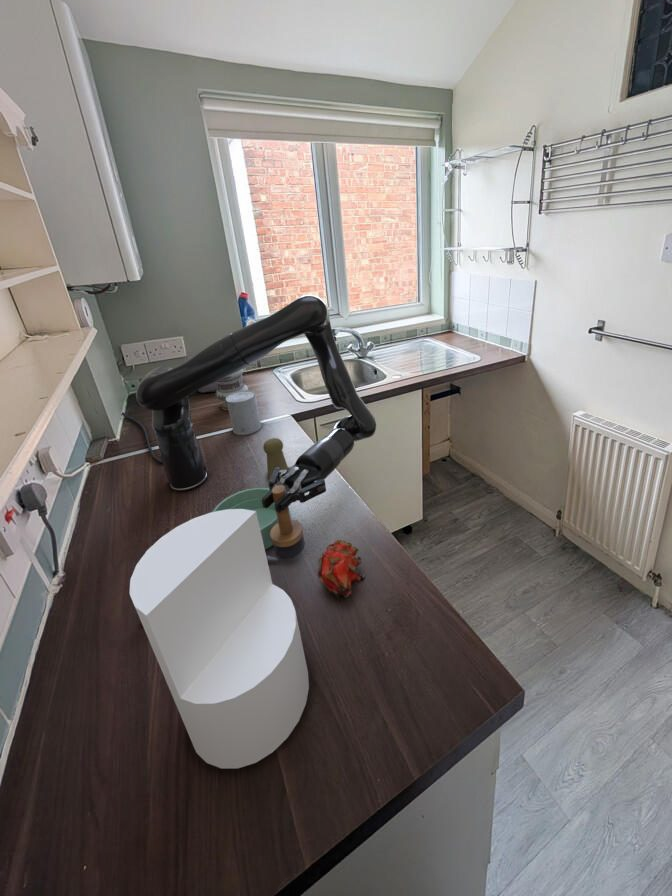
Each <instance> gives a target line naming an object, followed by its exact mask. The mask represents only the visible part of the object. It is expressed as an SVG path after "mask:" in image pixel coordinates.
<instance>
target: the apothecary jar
mask: <svg viewBox="0 0 672 896" xmlns="http://www.w3.org/2000/svg"><path fill="white" fill-rule="evenodd" d="M244 369H245V368H244ZM244 369H242V370H240V371H238V372H236V373H233V374H231V375H229V376H227V377H225V378H223V379H221V380H218V381H216V383H217V388H218V389H217V391H216V392H215V397H216V399H217V400H218V401H221V402H223V403H222V405H221V410H224V411H229V410H228V406H227V402H226V397H227V396H228V395H230V394H232V393H235V392H238V391H249V387H248V386H247V385H246V384H245V383H244V381H243V380H242V379H243V374H244V372H245V370H244Z"/></svg>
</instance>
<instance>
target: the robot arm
mask: <svg viewBox="0 0 672 896" xmlns="http://www.w3.org/2000/svg"><path fill="white" fill-rule="evenodd" d="M330 319H331V318H330V311H329V309H328V307H327V305H326V303H325V301H324V300H322V299H321V298H320V297H319V296H316V295H312V294H307V295H306V294H305V295H302V296H299V297H298V298H296V299H295V300H293V301H292V302H291V303H288V304H287V305H285V306H284V307H282V308H281V309H279V310H277V311H276V312H274V313H273V314H271V315H269V316H267V317H265V318H263V319H260V320H258V321H255V322H253V323H251V324H247V325H246V326H244V327H242V328H240V329H237V330H235V331H233V332H230V333H229V334H227V335H225V336H223V337H221V338H219V339H217V340H215V341H213V342H212V343H210V344H209V345H208V346H206V347H205V348H203V349H202V350H200V351H199V352H198V353H196V354H195V355H194V356H192V357H191V358H190V359H188V360H187V361H185V362H183V363H182V364H180V365H178V366H176V367H173V368H172V367H169V366H158V367H155V368H153V369H151V370H150V371H148V373H147V374H146V375H145V376H144V377H143V378H142V379H141V380H140V381H139V383H138V385H137V388H136V391H135V396H136V401H137V402H138V404H139V405H140V407H143V408H144V409H146V410H149V411H152V416H151V428H152V431H153V434H154V438H155V440H156V444H157V446H158V450H159V452H160V454H159V455H160V458H158V457H157V456H156V455H155V453H154V451H153V449H152V446H151V443H150V439H149V434H148V431H147V429H146V427H145V426H144V425H143V423H141V421H139V420H137V419H136V418H134V417H131V416H130V415H128V414H126V413H124V412H123V411H121V412H122V414H121V416H124V417H125V418H127V419H129V420H130V421H133V422H135V423H136V424H137V425H138V426H140V427H141V429H142V431H143V434H144V438H145V443H146V445H147V449H148V451H149V453H150V456H151V457H152V459H154V460H155V461H156V462H158V463H159V464H162V466H163V469H164V472H165V475H166V479H167V481H168V484H169V485H170V488H171V490H173V491H175V492H186V491H190V490H193V489H195V488H198V487H199V486H201V485H203V483H204V482H206V481H207V479H208V474H207V472H208V470H207V467H206V466H205V465H204V460H203V456H202V453H201V449H200V445H199V442H198V439H197V435H196V431H195V428H194V424H193V420H192V415H191V414H192V410H191V404H190V399H189V396H190V395H193V394H194V393H195V392H198V390H199V389H200V388H202V387H205V386H207V385H209V384H212V383H214V382H216V381H218V380H221V379H223V378H225V377H227V376H229V375H231V374H233V373H236V372H238V371H240V370H242V369H246V368H248V367H250V366H252V365H253V364H255V363H257V362H259V361H260V360H262V359H263V358H265V357H267V355H268V354H270V353H271V352H272V351H274V350H275V349H276V348H277V347H279V346H280V345H282V344H284V343H285V342H287V341H289V340H292V339H294V338H297V337H299V336H302V335H304V336H305V338H306V340H307V341H308V342H309V345H310V346H311V348H312V350H313V353H314V356H315V358H316V360H317V364H318V368H319V370H320V374H321V378H322V381H323V384H324V387H325V388H326V391H327V394H328V396H329V399H330V401H331V403H332V405H333V407H334V408H335V409H337V410H346V411H347V412H348V413H349V414H350V415H346V416H344V417H341V418H340V419H339V420H337V422H336V423H335V424H334V425H333V427H332V428H331V431H330V432H328V433H327V434H326V435H325V436H323V437H322V438H321V439H320V440H317V442H315V443H314V444H313V445H311V446H310V447H308V449H306V451H304V452H303V453H302V454H300V456H298V457H297V459H296V461H295V463H294V465H292V466H289V467H288V469H287V470H280V468H279V467H276V468H275V469H274V471H273V473H272V475H271V477H270V480H269V479H268V482H267V485H268V488H269V489H270V491H269V492H268V493H267V494H266V495H264V496H263V498H262V505H263V507H264V508H268V507H269V506H270V505H271V504H272V503H274V499H273V494H272V489H273V488H274V487H275V486H278V485H282V486H284V487H285V490H286V493H285V494H284V495H283V496H282V497H281V498H280V499H279V500H278V501H277V502H276V503H275V510H276V512H279V513H280V512H281V511H283V510H285V509H286V508H287V507H288V506H289V507H290V505H291V504H292V503H296V502H297V501H298V502H299V503H300V504H304V503H306V502H307V501H310V500H312V499H314V498H316V497H318V496H320V495H322V494H324V493H325V492H327V485H326V479H327V478H328V477H329V476H330V474H332V473H333V472H334V471H335V469H337V468H338V466H339V465H340V464H341V463H342V461H343V460H345V458H347V456H348V455H349V454H350V453H351V452H352V451H353V449H354V447H355V442H358V441H362V440H366V439H369V438H371V437H373V436H374V435H375V434H376V431H377V422H376V419H375V415H374V414H373V412H372V411H371V410H370V409H369V407H368V406H367V405H366V404H365V402H364V401H363V399H362V398H361V397H360V395H359V393H358V392H357V389H356V387H355V383H354V382H353V380H352V377H351V375H350V372H349V370H348V368H347V366H346V363H345V361H344V359H343V357H342V354H341V353H340V351H339V348H338V345H337V343H336V340H335V336H334V333H333V329H332V324H331V320H330ZM306 493H307V494H306Z"/></svg>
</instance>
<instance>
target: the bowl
mask: <svg viewBox="0 0 672 896" xmlns="http://www.w3.org/2000/svg"><path fill="white" fill-rule="evenodd" d="M269 491H270V489H269V487H253V488H247V489H244V490H240V491H237V492H235V493H233V494H231V495H229V496H227V497H226V498H224V499H223V500H222V501H220V502H219V503H218V504H217V505H216V506H215V507H214V508H213V510H212V511H211V512H216V511H221V510H226V509H246V510H252V511H256V513H257V518H258V522H259V527H260V531H261V535H262V540H263V544H264V549H265V551H266V550H268V549H269V548H271V547H273V544H272V541H271V537H270V532H271V529H272V528H273V527H274V526H275V525H276V524H277V523H278V520H277V515H276V510H275V504H274V503H272V504H271V505H270V506H269V507H268V508H264V507H263V505H262V498H263V496H264V495H266V494H267V493H268V492H269Z"/></svg>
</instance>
